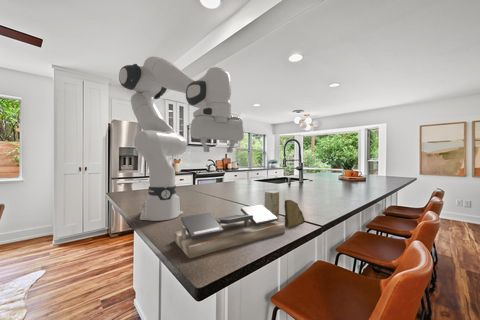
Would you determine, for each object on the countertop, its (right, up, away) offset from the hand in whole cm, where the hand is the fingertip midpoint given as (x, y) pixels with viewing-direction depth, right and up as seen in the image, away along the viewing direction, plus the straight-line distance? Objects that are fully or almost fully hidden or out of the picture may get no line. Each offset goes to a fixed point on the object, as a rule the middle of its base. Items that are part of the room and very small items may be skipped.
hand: (218, 152), depth 74 cm
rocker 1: (-4, -23, -10) cm, 25 cm away
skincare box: (+22, -29, +17) cm, 41 cm away
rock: (+31, -30, +11) cm, 44 cm away
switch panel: (+5, -29, -3) cm, 30 cm away
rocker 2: (+15, -23, +3) cm, 28 cm away
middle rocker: (+5, -23, -3) cm, 24 cm away
